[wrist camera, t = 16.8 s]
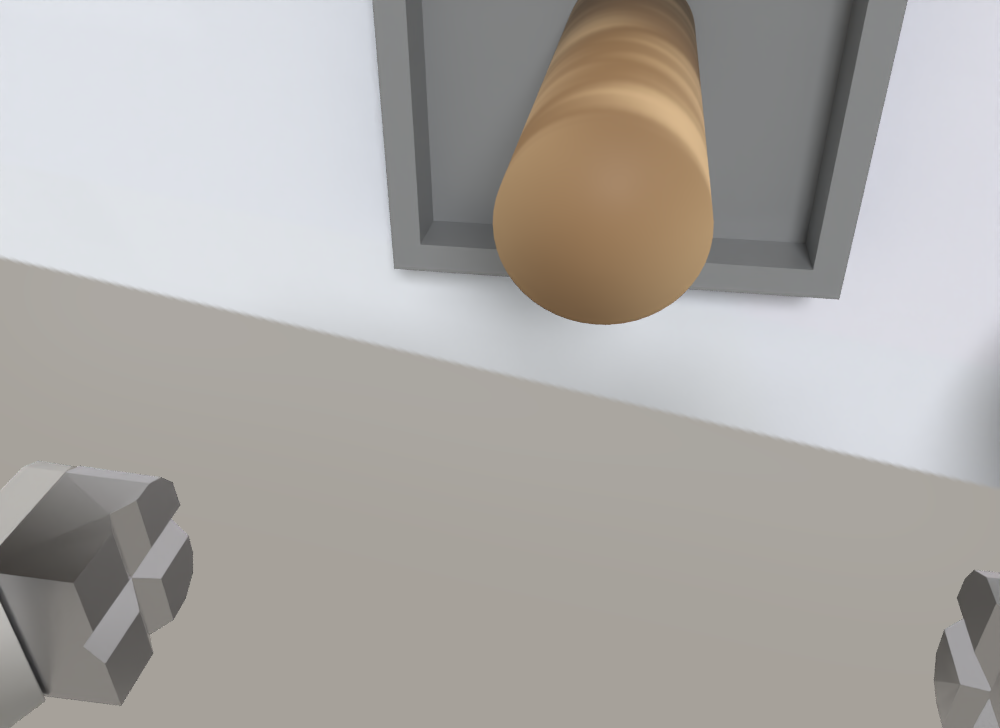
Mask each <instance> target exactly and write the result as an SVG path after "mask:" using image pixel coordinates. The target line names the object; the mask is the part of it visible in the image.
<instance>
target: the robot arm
mask: <svg viewBox="0 0 1000 728" xmlns="http://www.w3.org/2000/svg"><path fill="white" fill-rule="evenodd" d="M179 506H180V503H179V500H178V497H177V494H176V491H175V488H174V485H173V482H171V481H168V480H166V479H164V478H162V477H155V476H148V475H141V474H133V473H127V472H120V471H112V470H105V469H98V468H91V467H84V466H78V467H76V466H69V465H62V464H56V463H49V462H42V461H37V462H34V463H32V464H29V465H27V466H24V467H23V468H22V469H20V470H19V472H17V474H16V475H15V476H14V477H13V478H12V479H11V480H10V481H9V482H8V483H7V484H6V485H5V486H4V487H3V488H2V489H1V490H0V728H10V727H11V726H13V725H14V724H15V723H17V722H18V721H19V720H21V719H22V718H23V717H24V716H26V715H27V714H29V713H30V712H31V711H32V710H34V709H35V708H37V707H38V706H39V705H41V704H42V703H43V702H45V697H44V696H47V697H55V698H63V699H71V700H79V701H87V702H95V703H103V704H112V705H119V706H121V705H122V704H123V702H124V700H125V699H126V697H127V695H128V694H129V692H130V691H131V689H132V687H133V686H134V684H135V682H136V681H137V679H138V677H139V676H140V674H141V672H142V671H143V669H144V668H145V666H146V664H147V663H148V661H149V659H150V658H151V656H152V655H153V649H152V644H151V638H150V634H152V633H153V632H155V631H156V630H158V629H160V628H161V627H163V626H165V625H166V624H168V623H169V622H171V621H172V620H174V618H175V616H176V615H177V613H178V611H179V609H180V608H181V606H182V604H183V602H184V601H185V599H186V596H187V592H188V588H189V585H190V581H191V578H192V574H193V551H192V547H191V544H190V539H189V536H188V535H187V534H186V533H185V532H184V531H183V530H182V529H181V528H180V527H179V526H178V525H177V524H176V523H175V522H174V521H173V520H172V519H171V518H172V517H173V515H174V514H175V512H176V511H177V509H178V508H179ZM957 599H958V602H959V606H960V609H961V612H962V615H963V619H961V620H959V621H958V622H956V623H955V624H953V625H951V626H949V627H948V628H946V629H945V630H944V632H943V635H942V638H941V641H940V644H939V647H938V650H937V653H936V663H935V675H934V685H935V694H936V703H937V707H938V711H939V715H940V719H941V723H942V727H943V728H1000V573H999V572H990V571H980V570H974V571H973V572H972V573H971V574H969V575H968V576H967V577H966V578H965V580H964V582H963V585H962V587H961V590H960V592H959V594H958V597H957Z"/></svg>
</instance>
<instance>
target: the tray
mask: <svg viewBox="0 0 1000 728" xmlns="http://www.w3.org/2000/svg"><path fill="white" fill-rule="evenodd" d="M577 1H578V0H373V12H374V24H375V37H376V49H377V62H378V74H379V86H380V99H381V111H382V123H383V136H384V148H385V160H386V173H387V185H388V197H389V210H390V222H391V235H392V247H393V259H394V269H406V270H420V271H435V272H449V273H464V274H478V275H493V276H507V277H510V276H509V275H508V273H507V271H506V270H505V268H504V266H503V264H502V262H501V260H500V257H499V254H498V252H497V249H496V244H495V240H494V233H493V210H494V205H495V200H496V196H497V194H498V191H499V188H500V185H501V183H502V180H503V178H504V175H505V173H506V170H507V168H508V166H509V163H510V161H511V158H512V156H513V153H514V151H515V148H516V146H517V144H518V141H519V139H520V136H521V134H522V131H523V129H524V126H525V124H526V122H527V119H528V117H529V114H530V112H531V109H532V107H533V104H534V102H535V100H536V97H537V95H538V92H539V90H540V87H541V85H542V82H543V80H544V77H545V75H546V73H547V70H548V68H549V65H550V63H551V60H552V58H553V55H554V53H555V51H556V48H557V46H558V43H559V41H560V38H561V36H562V33H563V31H564V29H565V26H566V24H567V21H568V19H569V16H570V14H571V12H572V10H573V8H574V6H575V4H576V2H577ZM686 1H687V3H688V4H689V6H690V9H691V11H692V14H693V18H694V23H695V31H696V42H697V52H698V63H699V73H700V83H701V94H702V104H703V115H704V125H705V136H706V146H707V156H708V167H709V177H710V188H711V198H712V209H713V220H714V228H713V239H712V244H711V248H710V252H709V255H708V257H707V260H706V263H705V265H704V267H703V268H702V270H701V272H700V274H699V275H698V277H697V278H696V280H695V281H694V282H693V284H692V285H691V286H690V287H689V288H688V289H696V290H710V291H725V292H739V293H754V294H768V295H783V296H797V297H812V298H826V299H839V298H840V294H841V289H842V285H843V280H844V276H845V272H846V267H847V263H848V259H849V254H850V250H851V245H852V241H853V237H854V232H855V228H856V224H857V219H858V215H859V211H860V206H861V202H862V197H863V193H864V189H865V184H866V180H867V176H868V171H869V167H870V162H871V158H872V154H873V149H874V145H875V141H876V136H877V132H878V128H879V123H880V119H881V114H882V110H883V106H884V101H885V97H886V93H887V88H888V84H889V80H890V75H891V71H892V66H893V62H894V58H895V53H896V49H897V45H898V40H899V36H900V31H901V27H902V23H903V18H904V14H905V10H906V5H907V1H908V0H686Z"/></svg>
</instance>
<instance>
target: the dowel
mask: <svg viewBox="0 0 1000 728" xmlns="http://www.w3.org/2000/svg"><path fill="white" fill-rule="evenodd" d="M713 228H714V220H713V209H712V198H711V188H710V177H709V167H708V156H707V146H706V136H705V125H704V115H703V104H702V94H701V83H700V73H699V63H698V52H697V42H696V31H695V23H694V18H693V14H692V11H691V9H690V6H689V4H688V3H687V1H686V0H578V1H577V2H576V4H575V6H574V8H573V10H572V12H571V14H570V16H569V19H568V21H567V24H566V26H565V29H564V31H563V33H562V36H561V38H560V41H559V43H558V46H557V48H556V51H555V53H554V55H553V58H552V60H551V63H550V65H549V68H548V70H547V73H546V75H545V77H544V80H543V82H542V85H541V87H540V90H539V92H538V95H537V97H536V100H535V102H534V104H533V107H532V109H531V112H530V114H529V117H528V119H527V122H526V124H525V126H524V129H523V131H522V134H521V136H520V139H519V141H518V144H517V146H516V148H515V151H514V153H513V156H512V158H511V161H510V163H509V166H508V168H507V170H506V173H505V175H504V178H503V180H502V183H501V185H500V188H499V191H498V194H497V196H496V200H495V205H494V210H493V233H494V240H495V244H496V249H497V252H498V254H499V257H500V260H501V262H502V264H503V266H504V268H505V270H506V271H507V273H508V275H509V276H510V277H511V279H512V280H513V282H514V283H515V284H516V285H517V286H518V287H519V289H520V290H521V291H522V292H523V293H524V294H525V295H527V296H528V297H529V298H530V299H531V300H532V301H534V302H535V303H537V304H538V305H540V306H541V307H543V308H544V309H546V310H548V311H550V312H552V313H554V314H556V315H558V316H561V317H564V318H567V319H569V320H573V321H577V322H581V323H589V324H602V325H610V324H621V323H626V322H631V321H636V320H639V319H642V318H645V317H648V316H650V315H652V314H654V313H656V312H658V311H661V310H662V309H664V308H665V307H667V306H669V305H670V304H672V303H673V302H674V301H675V300H677V299H678V298H679V297H680V296H682V295H683V294H684V293H685V292H686V290H687V289H688V288H689V287H690V286H691V285H692V284H693V282H694V281H695V280H696V278H697V277H698V275H699V274H700V272H701V270H702V268H703V267H704V265H705V263H706V260H707V257H708V255H709V252H710V248H711V244H712V239H713Z"/></svg>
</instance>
